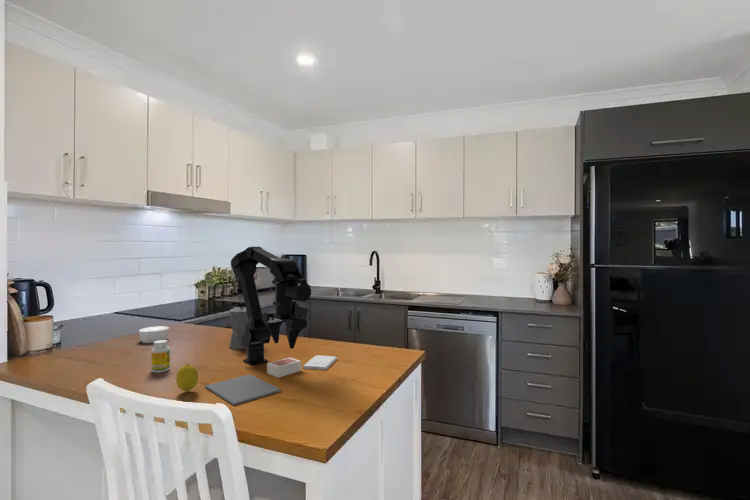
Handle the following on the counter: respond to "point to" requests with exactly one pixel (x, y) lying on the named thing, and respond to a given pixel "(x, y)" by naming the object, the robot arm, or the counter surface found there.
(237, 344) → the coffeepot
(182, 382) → the lemon
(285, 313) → the robot arm
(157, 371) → the supplement bottle
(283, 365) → the card box
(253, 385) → the mat
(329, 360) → the external hard drive
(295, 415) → the counter surface
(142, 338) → the ramekin
